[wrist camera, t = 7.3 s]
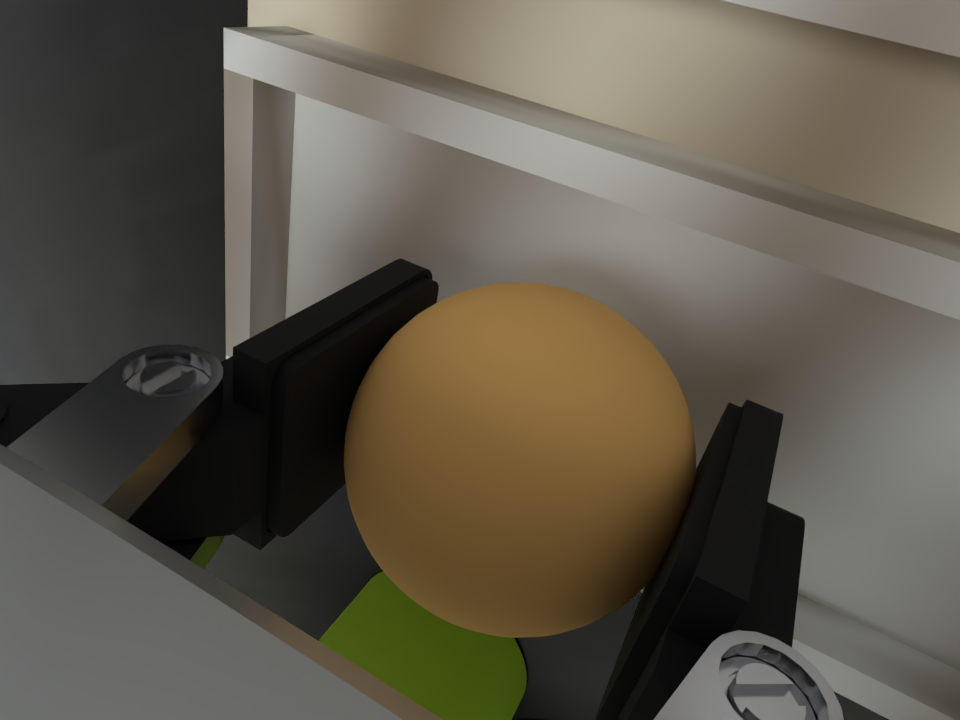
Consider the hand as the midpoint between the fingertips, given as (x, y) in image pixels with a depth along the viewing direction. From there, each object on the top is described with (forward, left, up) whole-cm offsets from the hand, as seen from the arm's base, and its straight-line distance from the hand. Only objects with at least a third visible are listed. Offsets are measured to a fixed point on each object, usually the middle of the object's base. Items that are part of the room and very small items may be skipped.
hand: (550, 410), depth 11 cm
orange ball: (0, 0, -1) cm, 1 cm away
